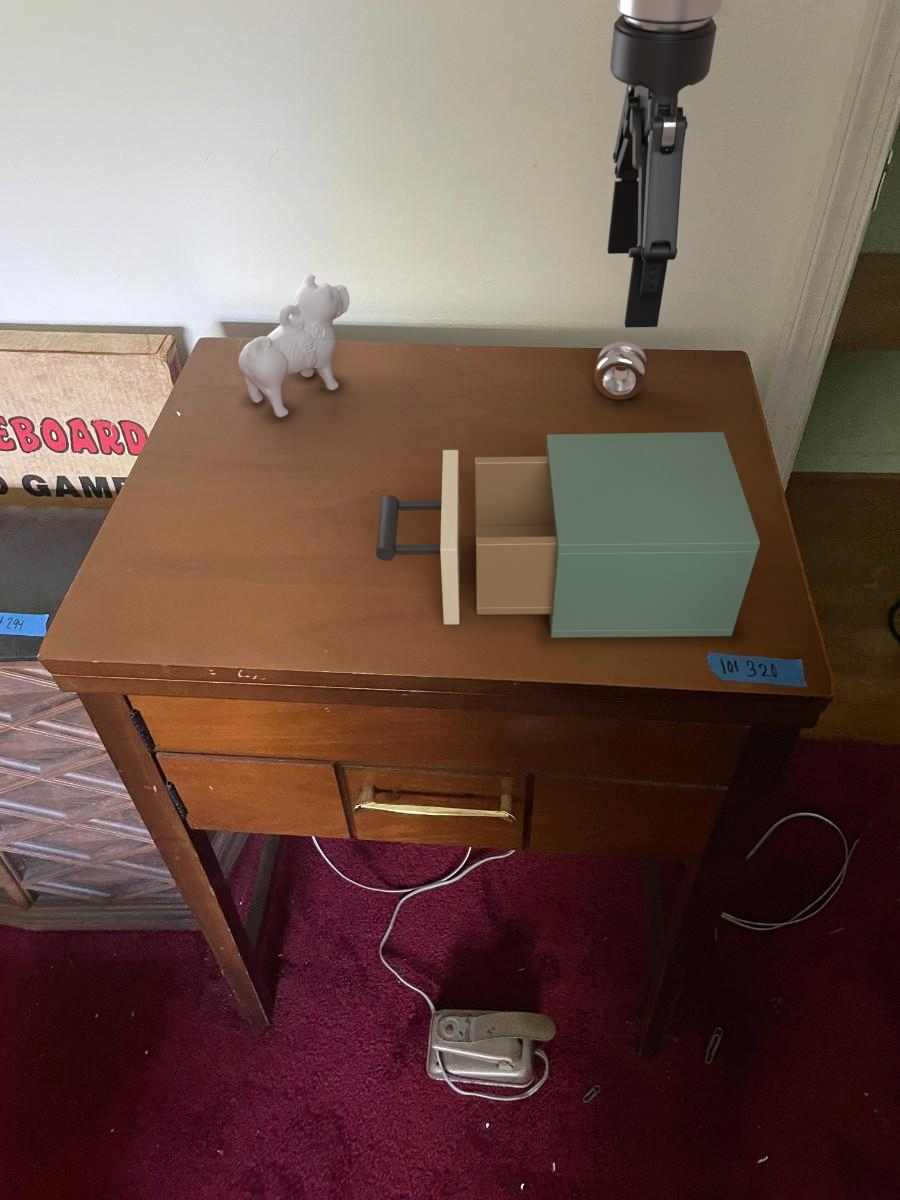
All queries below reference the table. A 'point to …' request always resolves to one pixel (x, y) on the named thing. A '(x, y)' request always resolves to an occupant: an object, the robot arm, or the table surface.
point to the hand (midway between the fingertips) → (630, 286)
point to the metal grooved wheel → (616, 381)
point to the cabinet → (648, 535)
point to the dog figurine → (296, 343)
